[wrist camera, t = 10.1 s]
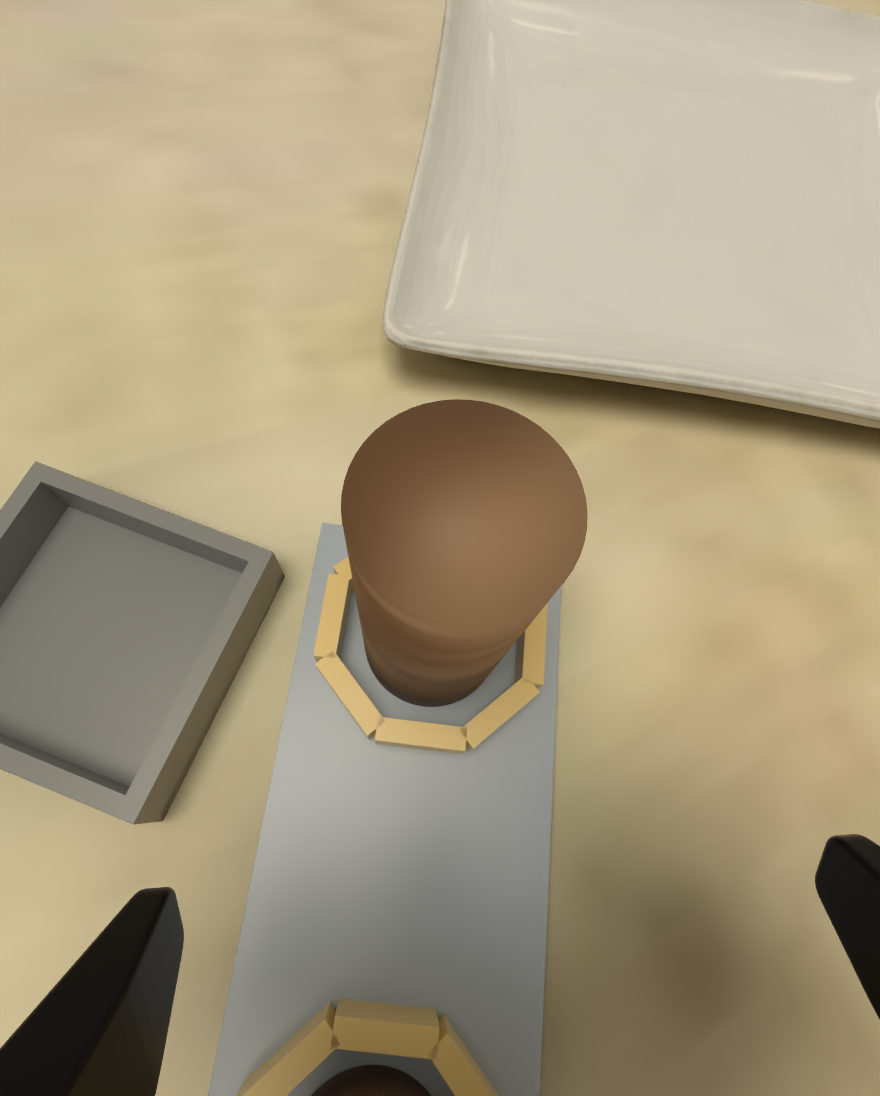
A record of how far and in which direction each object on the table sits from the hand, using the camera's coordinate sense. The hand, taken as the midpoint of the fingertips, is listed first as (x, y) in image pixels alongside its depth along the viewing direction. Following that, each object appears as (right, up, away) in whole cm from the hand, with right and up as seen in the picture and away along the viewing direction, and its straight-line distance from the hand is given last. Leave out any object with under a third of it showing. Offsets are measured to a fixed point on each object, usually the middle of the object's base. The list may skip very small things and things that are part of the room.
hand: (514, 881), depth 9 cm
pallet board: (-2, -6, +12) cm, 13 cm away
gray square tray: (-13, +1, +14) cm, 19 cm away
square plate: (+11, +22, +24) cm, 35 cm away
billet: (-1, +1, +13) cm, 14 cm away
